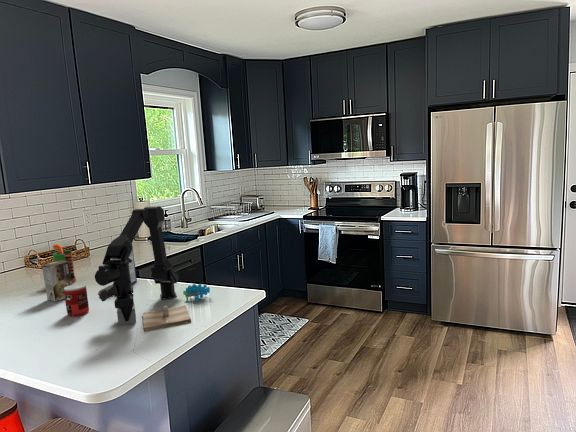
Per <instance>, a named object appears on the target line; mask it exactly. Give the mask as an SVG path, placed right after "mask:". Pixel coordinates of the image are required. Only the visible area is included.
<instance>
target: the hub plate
mask: <svg viewBox="0 0 576 432" xmlns="http://www.w3.org/2000/svg"><path fill="white" fill-rule="evenodd" d="M161 308H162V309H157V310H156V309H155V310H151V311H146V312H142V320H143V331H144V332H146V331H147V332H148V331H152V330H157V329H163V328H166V327H168V328H169V327H174V326H178V325H184V324H188V323H189V324H190V323H192V318H191V316H190V313H189V310H188V309H187V306H186V305H180V306H179V305H178V306H173V307H169V305H164V306H162V307H161Z"/></svg>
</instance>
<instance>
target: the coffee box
mask: <svg viewBox="0 0 576 432" xmlns="http://www.w3.org/2000/svg"><path fill="white" fill-rule="evenodd" d="M41 268H42V274H43V275H42V276H43V280H44V281H43V282H44V286H45V288H44V289H45V293H46V299H47V301H49V300H51V302H54V301H56V302H58V300H59V301H61V300H65V296H64V288H65V287H67V286H70V285H73V283H72V279H71V273H70V267H69V261H63V260H60V261H56V262H54V261H53V262H49V263H45V264H42V265H41Z"/></svg>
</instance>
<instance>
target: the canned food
mask: <svg viewBox="0 0 576 432" xmlns="http://www.w3.org/2000/svg"><path fill="white" fill-rule="evenodd" d="M64 296H65V298H64V300H65V307H66V309H65V310H66V314H67V316H69V317H79V316H83V315H86V314H87V313H89V311H90V306H89V298H88V291H87V286H86V283H75V284H74V283H73V284H72V285H70V286H67V287H65V288H64Z"/></svg>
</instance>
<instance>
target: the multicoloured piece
mask: <svg viewBox="0 0 576 432" xmlns="http://www.w3.org/2000/svg"><path fill="white" fill-rule="evenodd" d="M52 246H53V248H52V249H53V250H58V251H56V252H53V253H52V260H53V262H56V261H60V260H63V261H69V267H70V273H71V279H72V284H74V283H76V282H77V277H76V276H75V275H76V274H75V267H74V258H73V253H72V250H71V249H70V250H69V249H68V250H67V249H65V250H63V247H62V245H61V244H59V243H56V244H52Z"/></svg>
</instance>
